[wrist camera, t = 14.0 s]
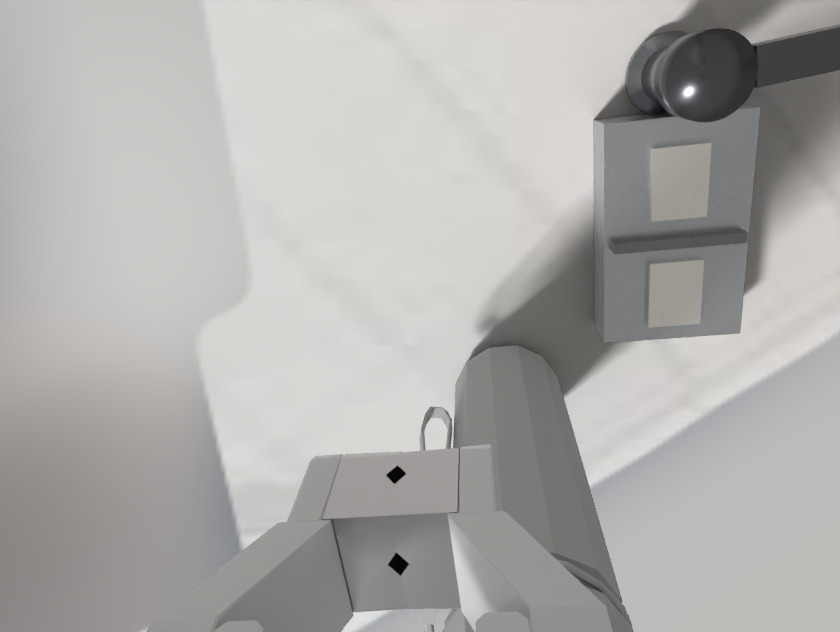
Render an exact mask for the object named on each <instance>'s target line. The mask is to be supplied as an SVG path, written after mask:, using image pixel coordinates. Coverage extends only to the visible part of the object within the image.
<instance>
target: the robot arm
mask: <svg viewBox="0 0 840 632" xmlns="http://www.w3.org/2000/svg"><path fill="white" fill-rule="evenodd" d="M439 608H442V609H446V608H447V609H449V608H461V611H462V613H463V614H464V616H465V617H466V619H467V620H468V622H469V623H470V625H471V627H472V628H473V630H474V631H475V632H613V631H612V627H611V623H610V620H609V616H608V612H607V608H606V606H605V605H604V604H603V603H602V602H601V601H600V600H599V599H598V598H597V597H596V596H595V595H593V594H592V593H591V592H590V591H589V590H588V589H587V588H586V587H585V586H584V585H583V584H582V583H581V582H580V581H579V580H578V579H577V578H576V577H574V576H573V575H572V574H571V573H570V572H569V571H568V570H567V569H566V568H565V567H564V566H563V565H562V564H561V563H560V562H559V561H558V560H556V559H555V558H554V557H553V556H552V555H551V554H550V553H549V552H548V551H547V550H546V549H545V548H544V547H543V546H542V545H541V544H540V543H538V542H537V541H536V540H535V539H534V538H533V537H532V536H531V535H530V534H529V533H528V532H527V531H526V530H525V529H524V528H523V527H522V526H521V525H519V524H518V523H517V522H516V521H515V520H514V519H513V518H512V517H511V516H510V515H509V514H508V513H507V512H506V511H498V507H497V497H496V487H495V477H494V467H493V456H492V447H491V446H490V444H486V445H476V446H466V447H461V448H452V449H439V450H426V451H413V452H384V453H361V454H345V455H342V454H340V455H325V456H315V457H314V458H313V459H312V460H311V461H310V463H309V466H308V469H307V471H306V474H305V476H304V479H303V482H302V484H301V487H300V489H299V492H298V495H297V497H296V500H295V502H294V505H293V508H292V510H291V513H290V515H289V518H288V521H287V522H282V523H277V524H276V525H275V526H274V527H272V528H271V529H270V530H268V531H267V532H266V533H265V534H263V535H262V536H261V537H259V538H258V539H257V540H256V541H254V542H253V543H252V544H251V545H249V546H248V547H247V548H245V549H244V550H243V551H242V552H240V553H239V554H238V555H237V556H235V557H234V558H233V559H231V560H230V561H229V562H228V563H226V564H225V565H224V566H222V567H221V568H220V569H219V570H217V571H216V572H215V573H213V574H212V575H211V576H210V577H208V578H207V579H206V580H205V581H203V582H202V583H201V584H199V585H198V586H197V587H196V588H194V589H193V590H192V591H190V592H189V593H188V594H187V595H185V596H184V597H183V598H182V599H180V600H179V601H178V602H176V603H175V604H174V605H173V606H171V607H170V608H169V609H167V610H166V611H165V612H164V613H162V614H161V615H160V616H159V617H157V618H156V619H155V620H153V621H152V623H151V625H150V627H149V628H148V630H147V632H341V631H342V629H343V628H344V627H345V626H346V624H347V623H348V622H349V620H350V619H351V618H352V617H353V612H365V611H380V610H395V609H439Z"/></svg>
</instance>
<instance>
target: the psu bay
mask: <svg viewBox="0 0 840 632" xmlns="http://www.w3.org/2000/svg"><path fill="white" fill-rule="evenodd" d="M760 108H761V107H756V106H749V105H742V106H741V107H740V108H739V109H737V110H736V111H735V112H734V113H732V114H731V115H729V116H727V117H725V118H723V119H720V120H717V121H714V122H695V121H691V120H687V119H683V118H679V117H676V116H674V115H672V114H670V113H660V114H641V115H632V116H623V117H614V118H605V119H596V120H593V136H594V279H595V325H596V327H597V329H598V331H599V333H600V335H601V337H602V339H603V342H604V343H611V342H625V341H639V340H653V339H667V338H681V337H695V336H709V335H723V334H737V333H740V328H741V317H742V306H743V295H744V284H745V273H746V262H747V251H748V240H749V229H750V218H751V207H752V196H753V185H754V174H755V163H756V152H757V141H758V130H759V119H760Z"/></svg>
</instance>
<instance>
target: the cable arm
mask: <svg viewBox="0 0 840 632" xmlns="http://www.w3.org/2000/svg"><path fill="white" fill-rule="evenodd" d="M837 70H840V25H836V26H831V27H827V28H822V29H818V30H813V31H809V32H804V33H800V34H795V35H791V36H786V37H782V38H777V39H773V40H768V41H764V42H759V43H755V44H751V43H750V42H749V41H748V40H747V39H746V38H745V37H744V36H743V35H741V34H739V33H738V32H735V31H733V30H729V29H711V30H704V31H698V32H693V33H690V34H687V35H685V36H683V37H681V38H679V39H678V40H676V41H675V42H674V43H673V44H672V45H670V46H669V47H668V49H667V50H666V51H665V52H664V54H663V55H662V57H661V59H660V61H659V63H658V65H657V68H656V72H655V78H654V87H655V93H656V96H657V98H658V101H659V102H660V104H661V105H662V107H663V108H664V109H665V110H666V111H667V112H669V113H670V114H672V115H674V116H676V117H679V118H683V119H687V120H691V121H695V122H714V121H717V120H720V119H723V118H725V117H727V116H729V115H731V114H732V113H734V112H735V111H736V110H737V109H739V108H740V107H741V106H742V105H743V104H744V102H745V101H746V100H747V98H748V97H749V96H750V94H751V92H752V90H753V88H754V87H762V86H766V85H771V84H776V83H781V82H785V81H790V80H795V79H799V78H804V77H809V76H813V75H818V74H823V73H827V72H832V71H837Z"/></svg>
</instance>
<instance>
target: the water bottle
mask: <svg viewBox="0 0 840 632" xmlns="http://www.w3.org/2000/svg"><path fill="white" fill-rule="evenodd" d="M430 418H442V419H443V421H444V423H445V425H446V427H447V428H448V434H447V444H446V449H450V447H451V437H452V419H451V418H450V415H449V413H448V412H447V411H446V410H445V409H444V408H441V407H430V408H429V409H428V411H427V413H426V414H425V417H424V421H423V424H422V428H421V434H420V451H425V437H424V430H425V427H426V424H427V423H428V421H429V420H430ZM486 444H490V446H491V447H492V456H493V467H494V477H495V487H496V497H497V507H498V511H506V512H507V513H508V514H509V515H510V516H511V517H512V518H513V519H514V520H515V521H516V522H517V523H518V524H519V525H521V526H522V527H523V528H524V529H525V530H526V531H527V532H528V533H529V534H530V535H531V536H532V537H533V538H534V539H535V540H536V541H537V542H538V543H540V544H541V545H542V546H543V547H544V548H545V549H546V550H547V551H548V552H549V553H550V554H551V555H552V556H553V557H554V558H555V559H556V560H558V561H559V562H560V563H561V564H562V565H563V566H564V567H565V568H566V569H567V570H568V571H569V572H570V573H571V574H572V575H573V576H574V577H576V578H577V579H578V580H579V581H580V582H581V583H582V584H583V585H584V586H585V587H586V588H587V589H588V590H589V591H590V592H591V593H592V594H593V595H595V596H596V597H597V598H598V599H599V600H600V601H601V602H602V603H603V604H604V605H605V606H606V608H607V612H608V616H609V620H610V623H611V627H612V631H613V632H633V629H632V624H631V621H630V619H629V615H627V612H626V609H625V607H624V605H622V598H621V595H620V591H619V588H618V584H617V581H616V578H615V574H614V571H613V567H612V564H611V561H610V557H609V553H608V550H607V546H606V543H605V539H604V536H603V532H602V529H601V526H600V522H599V519H598V515H597V512H596V508H595V505H594V502H593V498H592V495H591V491H590V488H589V484H588V481H587V477H586V474H585V470H584V467H583V463H582V460H581V456H580V453H579V450H578V446H577V443H576V439H575V436H574V432H573V429H572V425H571V422H570V418H569V415H568V412H567V408H566V405H565V401H564V398H563V394H562V391H561V387H560V384H559V380H558V377H557V375H556V374H555V372H554V371H553V369H552V368H551V367H550V365H549V364H548V363H547V361H546V360H545V359H544V357H543V356H542V355H540V354H537V353H535V352H532V351H530V350H528V349H525V348H523V347H521V346H518V345H512V346H499V347H489V348H488V349H486V350H484V351H483V352H481V353H480V354H478V355H476V356H475V357H473V358H472V359H470V360H468V361H467V362H466V364H465V366H464V368H463V370H462V372H461V374H460V376H459V378H458V380H457V382H456V389H455V416H454V442H453V448H461V447H466V446H476V445H486ZM436 611H437V609H422V613H421V618H420V621H421V622H424V632H434V627H433V625H434V621H435V616H436ZM448 613H449V615H448V617H447V618H446V620H445V628H444V629H443V631H442V632H475V631H474V630H473V628H472V627H471V625H470V623H469V622H468V620H467V619H466V617H465V616H464V614H463V613H462V611H461V608H449V609H448Z"/></svg>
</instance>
